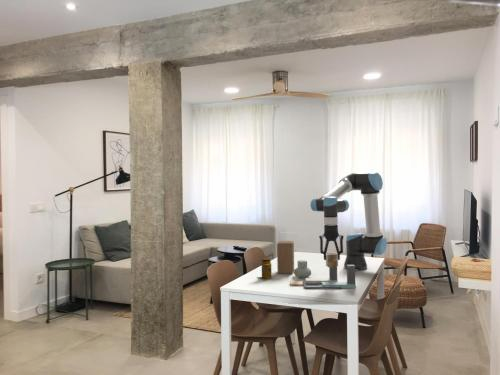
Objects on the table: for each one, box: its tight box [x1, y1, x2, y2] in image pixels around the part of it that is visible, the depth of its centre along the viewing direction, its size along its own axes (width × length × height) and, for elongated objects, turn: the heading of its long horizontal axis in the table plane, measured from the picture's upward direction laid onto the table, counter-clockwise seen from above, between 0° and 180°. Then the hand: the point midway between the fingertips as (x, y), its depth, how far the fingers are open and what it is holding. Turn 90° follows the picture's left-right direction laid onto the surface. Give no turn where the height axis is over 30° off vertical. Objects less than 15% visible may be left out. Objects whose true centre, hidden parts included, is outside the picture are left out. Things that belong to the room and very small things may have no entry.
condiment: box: [256, 257, 275, 281], centre depth 256 cm, size 7×8×12 cm
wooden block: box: [276, 240, 295, 275], centre depth 271 cm, size 10×10×20 cm
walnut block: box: [326, 252, 338, 268], centre depth 233 cm, size 5×5×7 cm
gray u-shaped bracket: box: [304, 266, 339, 283], centre depth 243 cm, size 18×6×12 cm, turn 86°
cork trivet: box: [290, 280, 304, 287], centre depth 240 cm, size 7×7×1 cm
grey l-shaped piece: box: [321, 265, 357, 289], centre depth 233 cm, size 18×6×12 cm, turn 86°
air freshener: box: [293, 259, 312, 279], centre depth 258 cm, size 11×8×10 cm
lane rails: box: [302, 278, 342, 290], centre depth 238 cm, size 20×18×1 cm
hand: (331, 265), depth 234 cm, fingers closed on walnut block, 5 cm apart
